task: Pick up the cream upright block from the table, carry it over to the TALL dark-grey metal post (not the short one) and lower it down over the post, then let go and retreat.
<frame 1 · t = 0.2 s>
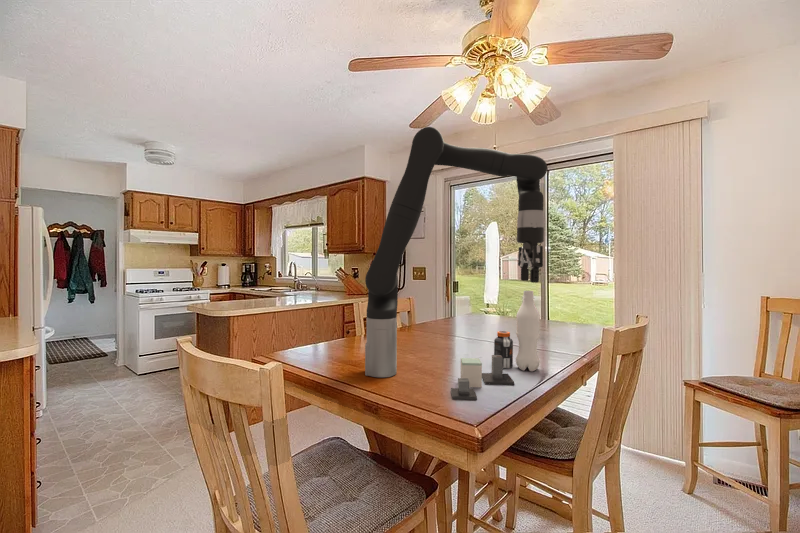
hand: (529, 281, 111), 28 cm above the table, fingers open, 8 cm apart
cream upright block: (470, 384, 105), on the table
short post: (463, 395, 96), on the table
pill bottle: (503, 366, 123), on the table
tall post: (496, 380, 109), on the table
water bottle: (527, 369, 120), on the table
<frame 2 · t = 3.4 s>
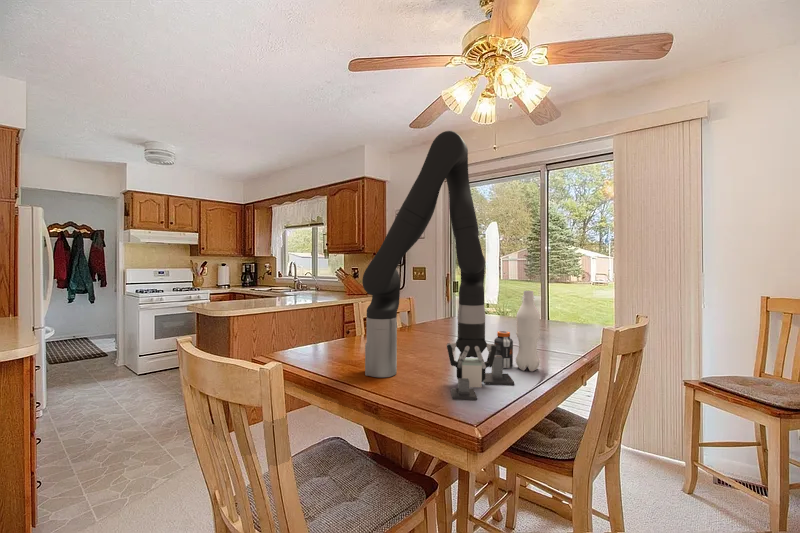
hand: (470, 380, 105), 1 cm above the table, fingers closed on cream upright block, 5 cm apart
cream upright block: (470, 384, 105), on the table, touching gripper
everything else where it was.
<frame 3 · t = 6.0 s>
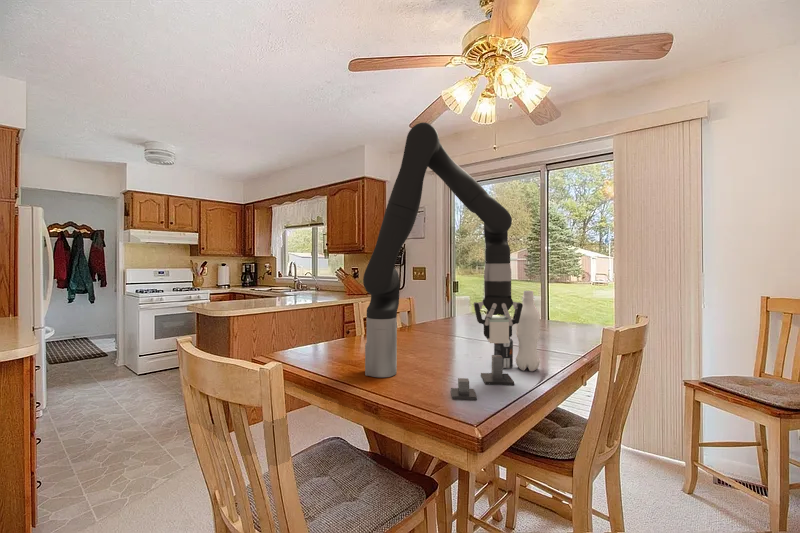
hand: (497, 337, 108), 12 cm above the table, fingers closed on cream upright block, 5 cm apart
cream upright block: (497, 341, 108), point 11 cm above the table, touching gripper
everything else where it was.
when the fingers open (3 cm above the table, at t = 8.6 s): cream upright block drops 1 cm, resting on tall post.
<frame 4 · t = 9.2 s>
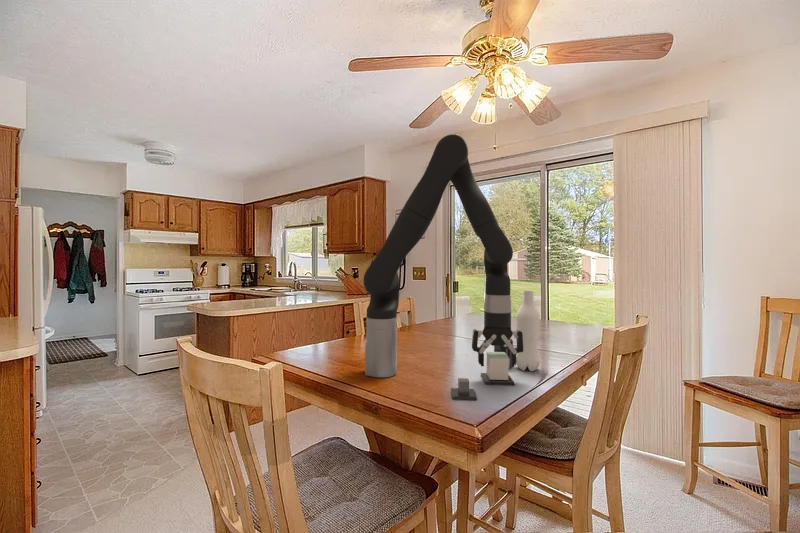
hand: (497, 366, 108), 4 cm above the table, fingers open, 8 cm apart
cream upright block: (497, 376, 108), point 1 cm above the table, touching tall post
everything else where it was.
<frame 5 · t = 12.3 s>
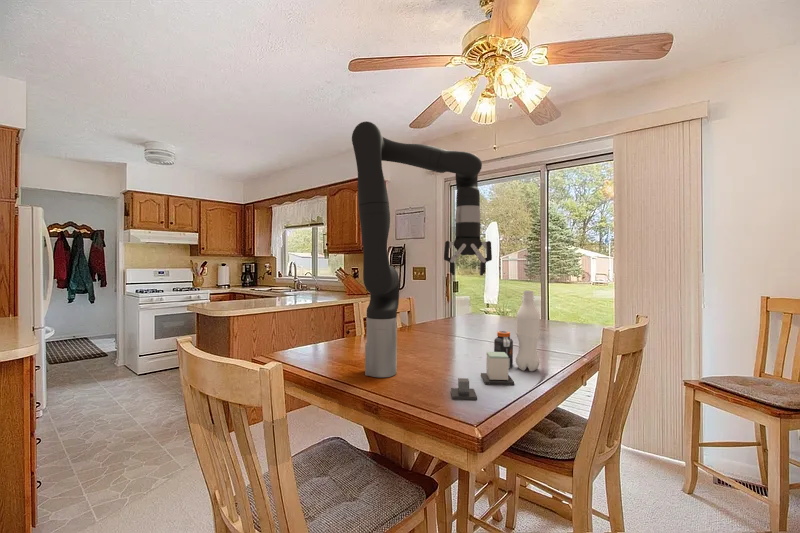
hand: (467, 275, 114), 30 cm above the table, fingers open, 8 cm apart
nothing on the table moved.
at the end: cream upright block 0.1 cm from the tall post (horizontally); cream upright block point 1.0 cm above the table; the gripper is holding nothing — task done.
